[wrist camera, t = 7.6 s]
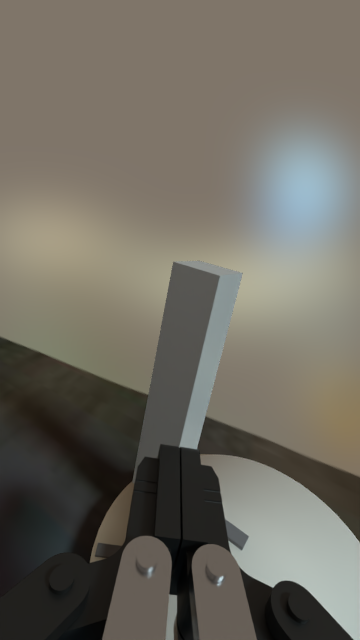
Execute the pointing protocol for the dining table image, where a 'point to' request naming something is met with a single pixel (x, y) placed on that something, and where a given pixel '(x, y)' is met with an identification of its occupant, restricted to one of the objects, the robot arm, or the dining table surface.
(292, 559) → the dial
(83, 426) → the dining table surface
